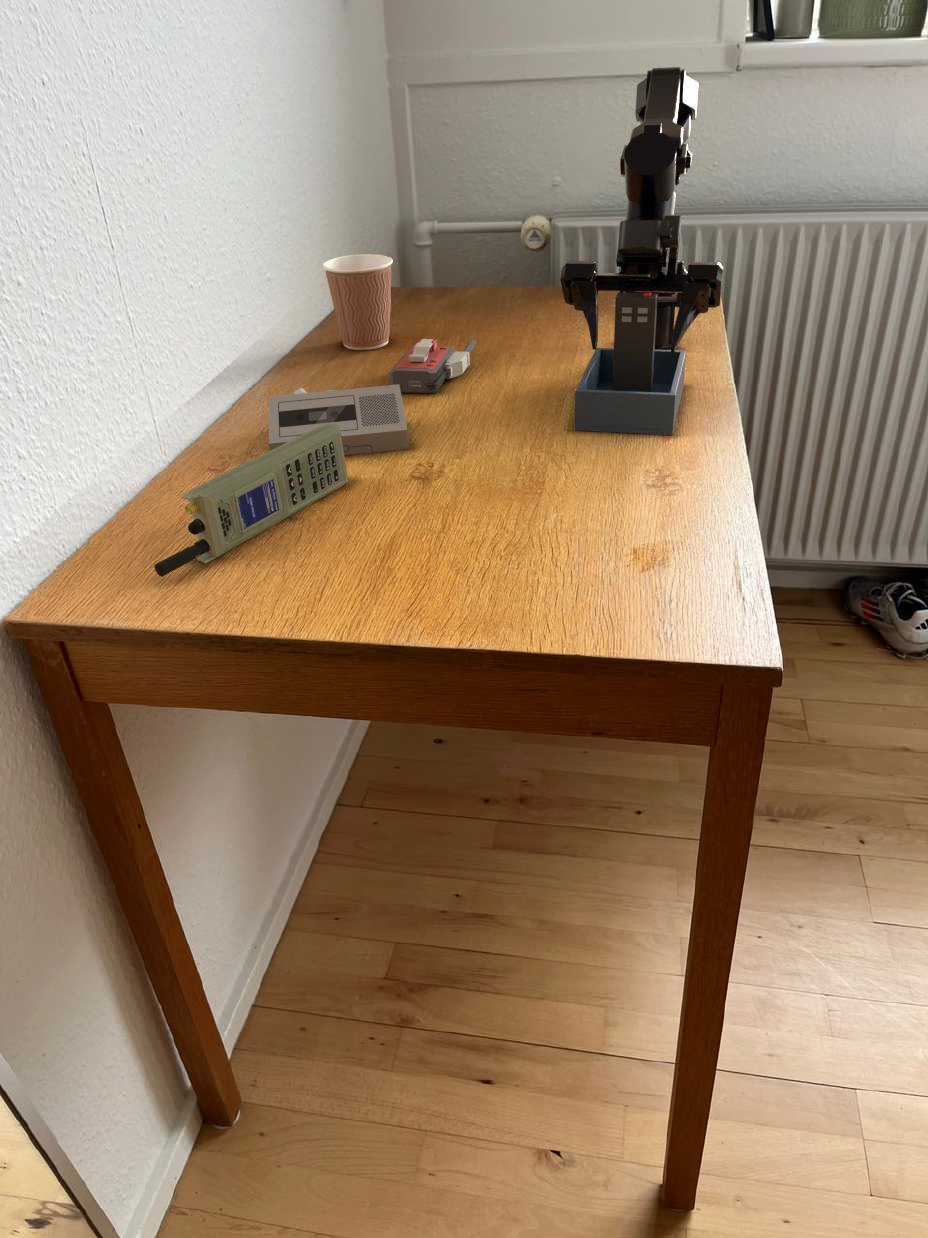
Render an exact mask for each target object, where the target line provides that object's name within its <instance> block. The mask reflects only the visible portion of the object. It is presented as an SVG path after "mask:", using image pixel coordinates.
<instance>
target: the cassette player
mask: <svg viewBox="0 0 928 1238" xmlns="http://www.w3.org/2000/svg"><path fill="white" fill-rule="evenodd" d="M334 390H335V391H328V390H325V391H315V392H307V393H303V394H294V393H293V394H284V395H274V396H273V395H271V396H267V413H268V414H267V416H268V417H267V418H268V444H269V445H268V446H269V451H271V450H273V449H275V448H277V447H279V446H281V445H283V444H285V443H287V442H289V441H291V440H293V439H295V438H297V437H299V436H301V435H303V434H305V433H307V432H309V431H311V430H313V429H315V428H317V427H319V426H321V425H324V424H328V423H329V424H337V425H339V427H340V431H341V438H342V444H343V451H344V456H351V455H352V456H353V455H360V454H371V453H381V452H391V451H399V450H400V451H402V450H409V449H410V446H409V431H408V425H407V419H406V413H405V408H404V407H405V406H404V403H403V397H402V393H401V391H400V385H399V384H398V385H390V384H387V385H379V386H378V385H377V386H368V387H367V386H366V387H357V388H356V387H355V388H346V389H334Z"/></svg>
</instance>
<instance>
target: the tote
mask: <svg viewBox="0 0 928 1238" xmlns="http://www.w3.org/2000/svg"><path fill="white" fill-rule="evenodd" d="M686 358H687V350H679V349H676V350H675V352H671V350H654V368H653V385H652V392H633V391H612V389H613V360H614V347H596V350H594V351H593V354H592V356H591V357H590V360H589V362H588V364H587V366H586V368H585V370H584V371H583V374H582V375H581V377H580V380H579V382H578V384H577V386H576V388H575V390H574V420H573V421H574V423H573V424H574V425H573V426H574V429H573V430H574V431H579V432H580V431H581V432H582V431H583V432H602V433H619V434H620V433H621V434H637V435H640V434H641V435H657V436H658V435H659V436H673V435H674V431H675V426H676V421H677V417H678V413H679V408H680V404H681V401H682V395H683V391H684V385H685V384H684V383H685V371H686Z"/></svg>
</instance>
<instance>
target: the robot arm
mask: <svg viewBox="0 0 928 1238" xmlns="http://www.w3.org/2000/svg"><path fill="white" fill-rule="evenodd" d="M698 92H699V82H698V81H696V80H695V79H693V78H691V77H690V76H689V75H686V68H682V67H681V66H670V67H653V68H652V69H651V70H647V73H646V77H645V78H644V79H643V80H641V81H640V82H638V83H637V85H636V94H635V95H636V96H635V110H634V114H635V120H636V122H637V123H640V124H639V125H637V126H635V127H633V129H632V130H631V134H630V138H629V142H628V143H627V144H625V145H624V146H623V149H622V151H621V152H622V153H621V155H620V160H619V168H620V169H619V171H620V176H621V177H624V181H625V194H626V198H627V205H626V212H625V219H624V220H621V221H620V222H619V226H618V227H619V229H618V238H617V239H618V240H617V251H616V257H615V264H616V268H618V272H598V268H597V261H596V260H567V261H566V263H564V264H563V265H562V267H561V271H560V277H559V281H560V286H561V289H562V295H563V299H564V303H565V304H567V305H569V306H573V307H574V310H575V311H577V312H578V311H579V312H582V313H583V316H584V318H585V322H586V323H587V327H588V331H589V336H590V342H591V347H592V350H594V351H595V350H596V348H598V342H599V312H600V311H599V309H600V308H599V301H598V300H599V299H598V298H599V291H601V292H619V293H658V298H657V315H656V333H655V350H671V352H675V350H679V345H680V343H681V341H682V340H683V338H684V337H685V334H686V333H687V331H688V329H689V328H690V326H691V325H692V323H694V322H695V320H696V318H697V317H698V316H699V315H700V314H707V313H708V312H709V309H710V308H711V309H715V308H718V307H719V306H720V305H721V300H722V299H721V298H722V289H723V288H722V287H723V277H724V276H723V275H724V267H723V266H722V264H721V263H720V262H718V261H688V265H687V269H685V265H684V261H683V260H679V257H680V242H681V230H682V215H678V214H677V215H675V210H676V209H675V208H676V199H677V194H676V192H675V190H676V186H679V184H680V180H681V179H680V178H681V176H686V174H687V173H688V172H689V171H688V169H691V168H692V161H693V153H692V152H691V151H690V148H689V147H688V146H689V145H688V143H686V142H687V141H688V139H689V138H690V135H691V124H692V123H691V122H692V121H696V120H697V110H698V109H697V108H698V94H699V93H698ZM676 308H678V309H677V310H678V311H677V313H676ZM675 313H676V314H675ZM675 316H676V317H675ZM675 318H676V319H675Z"/></svg>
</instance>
